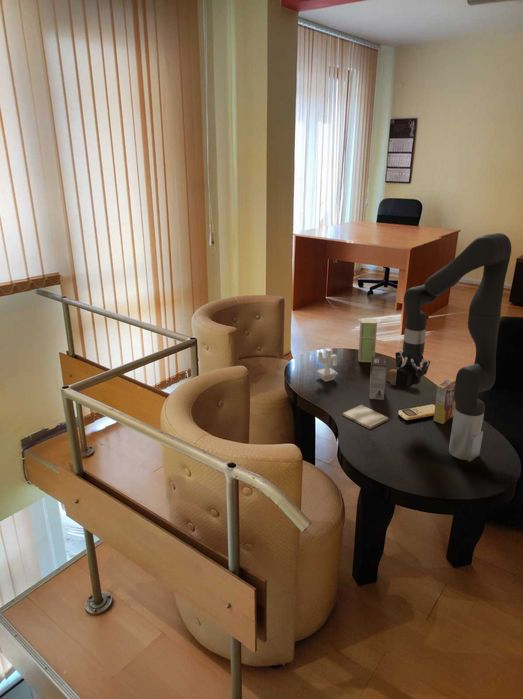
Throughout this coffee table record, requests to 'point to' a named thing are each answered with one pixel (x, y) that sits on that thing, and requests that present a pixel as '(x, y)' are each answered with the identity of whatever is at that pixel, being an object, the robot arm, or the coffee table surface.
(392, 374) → the lion figurine
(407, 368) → the digital camera
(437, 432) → the coffee table surface
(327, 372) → the figurine
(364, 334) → the toy refrigerator
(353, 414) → the birch board
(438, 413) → the candy box
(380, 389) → the coffee box
